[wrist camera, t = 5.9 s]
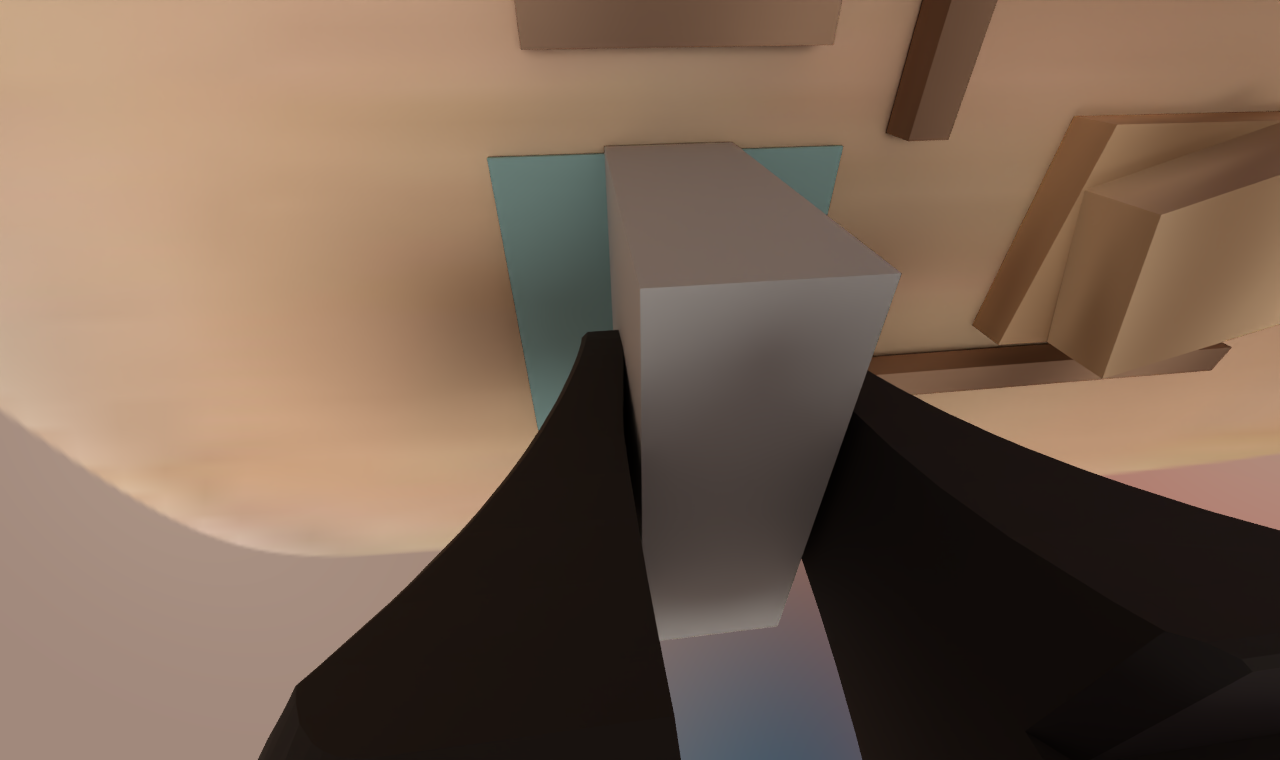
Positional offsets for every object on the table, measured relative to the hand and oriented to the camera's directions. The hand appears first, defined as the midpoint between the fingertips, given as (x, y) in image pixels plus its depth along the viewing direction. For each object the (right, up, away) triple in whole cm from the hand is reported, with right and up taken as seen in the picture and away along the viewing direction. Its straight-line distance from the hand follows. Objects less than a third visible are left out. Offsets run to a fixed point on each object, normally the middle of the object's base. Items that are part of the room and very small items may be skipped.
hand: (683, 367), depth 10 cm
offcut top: (+11, +3, +1) cm, 11 cm away
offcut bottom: (+11, +4, +3) cm, 12 cm away
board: (0, +2, +2) cm, 2 cm away
